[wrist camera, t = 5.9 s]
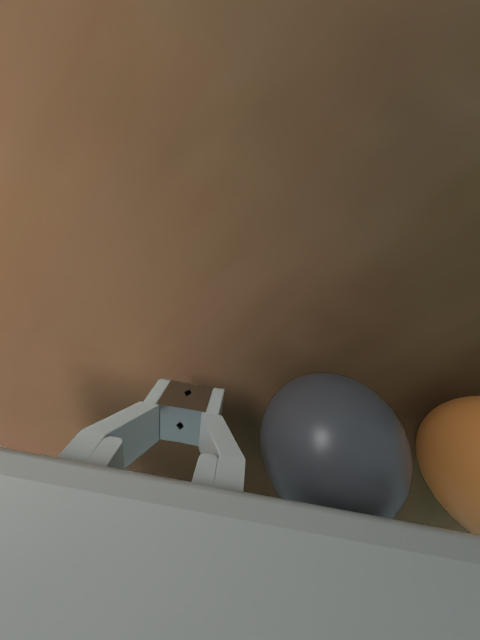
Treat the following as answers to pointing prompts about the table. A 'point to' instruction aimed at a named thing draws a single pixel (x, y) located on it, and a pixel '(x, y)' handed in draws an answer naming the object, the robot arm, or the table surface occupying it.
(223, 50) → the table surface
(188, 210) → the table surface
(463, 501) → the orange ball
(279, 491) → the charcoal ball
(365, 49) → the table surface
